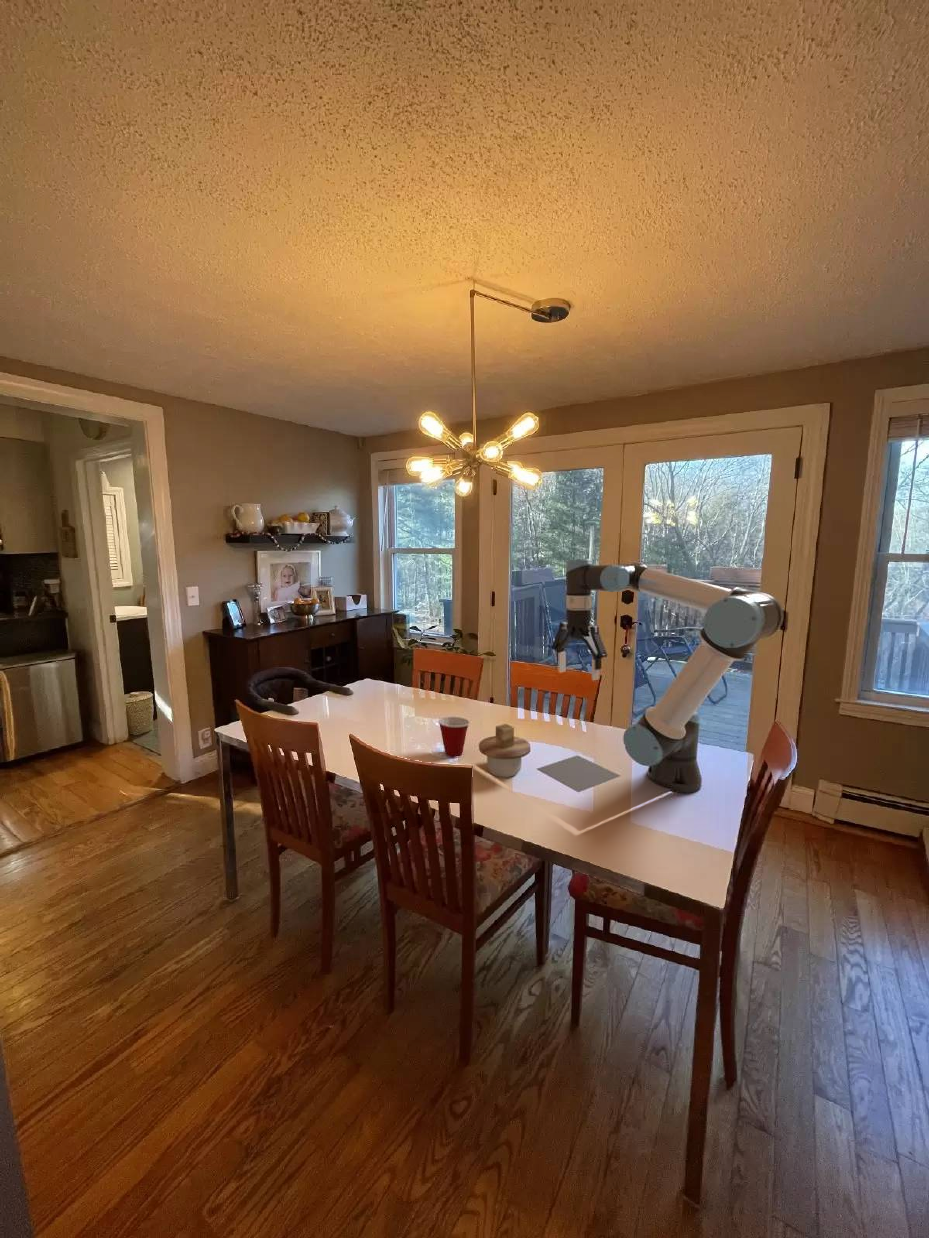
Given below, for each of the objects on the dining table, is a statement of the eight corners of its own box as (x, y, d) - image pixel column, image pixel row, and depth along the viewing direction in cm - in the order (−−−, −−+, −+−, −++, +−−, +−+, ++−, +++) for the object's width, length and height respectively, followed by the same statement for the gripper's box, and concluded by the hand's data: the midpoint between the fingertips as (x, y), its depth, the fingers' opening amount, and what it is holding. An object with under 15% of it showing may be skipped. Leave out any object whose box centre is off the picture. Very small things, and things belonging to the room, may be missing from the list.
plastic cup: (476, 753, 176) (476, 719, 174) (454, 763, 168) (454, 728, 166) (454, 744, 183) (453, 712, 181) (431, 754, 176) (431, 720, 174)
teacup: (519, 783, 154) (519, 758, 153) (483, 780, 156) (483, 755, 155) (523, 763, 168) (523, 740, 167) (490, 761, 170) (490, 738, 169)
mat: (620, 778, 157) (620, 775, 157) (578, 795, 147) (578, 791, 147) (577, 758, 172) (577, 755, 172) (536, 771, 162) (536, 768, 162)
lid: (541, 751, 158) (541, 729, 157) (500, 763, 150) (500, 741, 148) (508, 734, 172) (508, 714, 170) (468, 745, 163) (468, 724, 162)
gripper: (540, 606, 167) (541, 670, 170) (603, 613, 148) (602, 685, 150) (556, 604, 172) (557, 667, 175) (619, 610, 152) (618, 680, 155)
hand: (578, 675), depth 162 cm, fingers open, 13 cm apart
